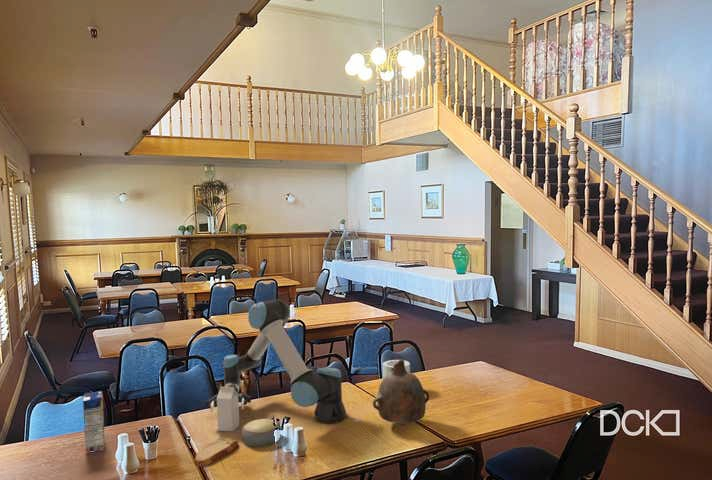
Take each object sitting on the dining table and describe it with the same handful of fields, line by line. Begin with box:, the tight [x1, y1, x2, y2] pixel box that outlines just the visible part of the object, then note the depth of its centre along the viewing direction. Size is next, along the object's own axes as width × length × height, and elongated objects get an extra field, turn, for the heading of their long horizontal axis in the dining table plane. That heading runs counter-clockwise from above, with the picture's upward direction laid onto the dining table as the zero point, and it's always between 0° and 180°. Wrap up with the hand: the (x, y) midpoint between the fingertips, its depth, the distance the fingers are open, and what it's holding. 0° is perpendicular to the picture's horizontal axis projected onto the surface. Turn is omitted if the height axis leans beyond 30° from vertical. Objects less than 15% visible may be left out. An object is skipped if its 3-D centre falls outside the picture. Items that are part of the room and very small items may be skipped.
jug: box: [372, 359, 430, 426], centre depth 218 cm, size 24×21×30 cm
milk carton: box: [216, 386, 240, 432], centre depth 223 cm, size 7×7×19 cm
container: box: [382, 359, 411, 380], centre depth 266 cm, size 16×16×15 cm
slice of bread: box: [194, 438, 239, 468], centre depth 197 cm, size 18×18×4 cm
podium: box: [241, 418, 281, 448], centre depth 210 cm, size 16×16×6 cm
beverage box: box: [82, 390, 106, 453], centre depth 208 cm, size 7×11×22 cm, turn 27°
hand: (227, 407), depth 220 cm, fingers open, 13 cm apart
